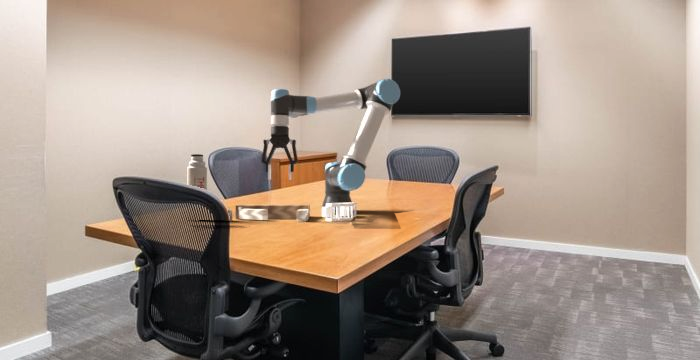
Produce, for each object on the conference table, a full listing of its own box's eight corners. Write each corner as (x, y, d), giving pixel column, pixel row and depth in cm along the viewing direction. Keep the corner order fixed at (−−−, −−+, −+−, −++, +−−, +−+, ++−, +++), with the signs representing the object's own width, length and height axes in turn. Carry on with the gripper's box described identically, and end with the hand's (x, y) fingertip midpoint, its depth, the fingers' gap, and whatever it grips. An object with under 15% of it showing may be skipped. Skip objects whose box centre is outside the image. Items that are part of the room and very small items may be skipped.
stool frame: (309, 218, 230) (309, 204, 230) (305, 221, 210) (305, 207, 210) (231, 218, 231) (231, 204, 231) (219, 221, 211) (219, 207, 211)
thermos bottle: (207, 220, 214) (208, 154, 214) (187, 221, 211) (188, 153, 211) (205, 219, 222) (205, 154, 222) (186, 220, 219) (186, 154, 219)
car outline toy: (347, 218, 234) (347, 202, 234) (366, 219, 227) (366, 202, 227) (316, 220, 219) (316, 203, 219) (335, 222, 212) (335, 204, 212)
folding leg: (267, 220, 217) (267, 207, 217) (262, 220, 214) (262, 208, 214) (242, 218, 224) (242, 206, 224) (236, 219, 221) (236, 207, 221)
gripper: (305, 127, 221) (305, 179, 221) (257, 127, 221) (257, 179, 221) (303, 125, 213) (303, 179, 213) (253, 125, 214) (253, 179, 214)
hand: (279, 179), depth 217 cm, fingers open, 8 cm apart
